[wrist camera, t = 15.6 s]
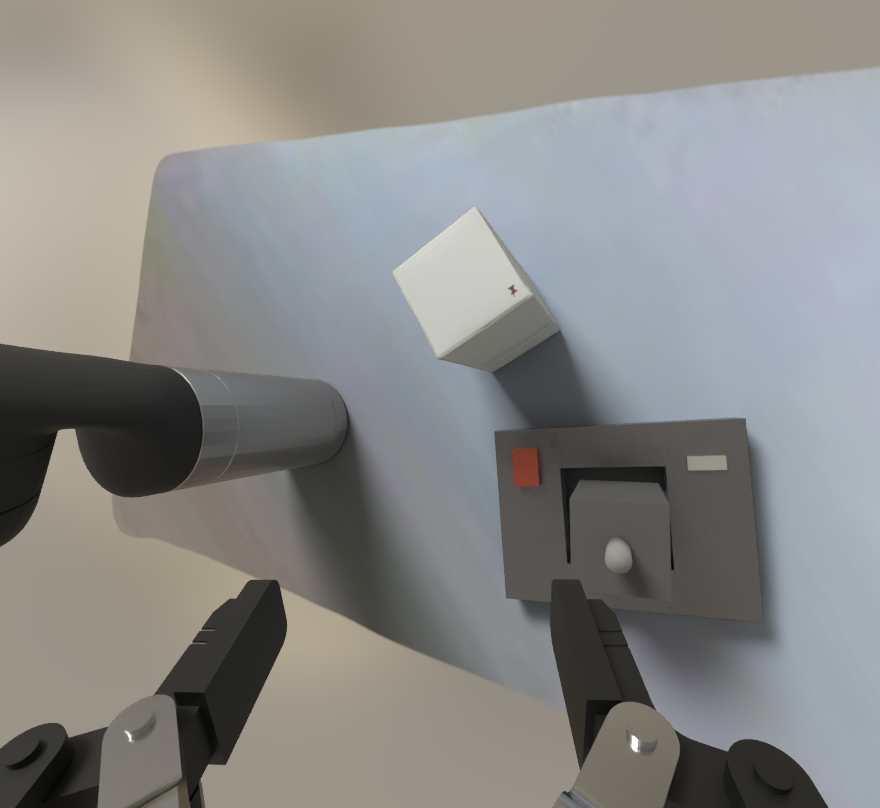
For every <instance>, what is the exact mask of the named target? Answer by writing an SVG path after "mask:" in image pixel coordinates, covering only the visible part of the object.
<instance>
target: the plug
mask: <svg viewBox="0 0 880 808" xmlns="http://www.w3.org/2000/svg"><path fill="white" fill-rule="evenodd" d="M570 549H571V579H579V580H580V582H581V584H582V587H583V590H588V591H595V592H603V593H610V594H617V595H625V596H632V597H640V598H647V599H654V600H662V601H669V602H672V594H671V551H670V508H669V503H668V501H667V499H666V497H665V495H664V493H663V491H662V490H661V488H660V486H659V484H658V483H646V482H623V481H601V480H580V481H579V483H578V484H577V486H576V488H575V490H574V492H573V493H572V495H571V497H570Z"/></svg>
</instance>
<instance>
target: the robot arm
mask: <svg viewBox="0 0 880 808" xmlns="http://www.w3.org/2000/svg"><path fill="white" fill-rule="evenodd" d="M69 428H70V429H75V431H76V436H77V440H78V445H79V449H80V452H81V455H82V458H83V460H84V462H85V465H86V467H87V469H88V470H89V472H90V473H91V475H92V476H93V478H94V479H95V480H96V481H97V483H99V484H100V485H101V486H102V487H103V488H104V489H106V490H107V491H109V492H110V493H113V494H115V495H118V496H122V497H142V496H149V495H154V494H159V493H165V492H169V491H174V490H180V489H185V488H190V487H196V486H201V485H206V484H211V483H216V482H222V481H227V480H233V479H238V478H244V477H249V476H255V475H260V474H266V473H271V472H276V471H282V470H287V469H294V468H299V467H304V466H310V465H315V464H319V463H323V462H325V461H327V460H329V459H331V458H332V457H333V456H334V455H335V454H336V453H337V452H338V450H339V449H340V448H341V446H342V444H343V442H344V439H345V436H346V431H347V413H346V409H345V406H344V403H343V401H342V399H341V397H340V395H339V394H338V393H337V392H336V390H335V389H334V388H333V387H331V386H330V385H328V384H327V383H325V382H322V381H319V380H311V379H301V378H292V377H281V376H271V375H260V374H249V373H238V372H227V371H217V370H206V369H193V368H182V367H171V366H160V365H149V364H141V363H134V362H129V361H122V360H117V359H111V358H105V357H98V356H90V355H80V354H71V353H62V352H54V351H47V350H40V349H32V348H24V347H18V346H12V345H5V344H0V547H1V546H3V545H4V544H6V543H7V542H9V541H10V540H12V539H13V538H14V537H15V536H16V535H17V534H18V533H19V532H20V531H21V530H22V529H23V528H24V527H25V525H26V524H27V522H28V521H29V519H30V517H31V516H32V513H33V512H34V510H35V507H36V505H37V503H38V499H39V496H40V493H41V489H42V485H43V483H44V479H45V475H46V472H47V468H48V465H49V461H50V457H51V453H52V450H53V446H54V443H55V439H56V436H57V432H58V430H61V429H69ZM550 627H551V638H552V645H553V650H554V654H555V659H556V663H557V668H558V672H559V677H560V681H561V686H562V690H563V695H564V700H565V704H566V709H567V713H568V717H569V722H570V727H571V731H572V736H573V740H574V745H575V749H576V754H577V758H578V763H579V767H580V773H579V775H578V777H577V779H576V781H575V783H574V785H573V787H572V788H571V790H570V791H569V792H568V793H567V792H566V791H564V792H562V793H561V795H560V796H559V797H558V799H557V801H556V802H555V804H554V806H553V808H828V806H827V805H826V803H825V802H824V800H823V798H822V797H821V795H820V793H819V792H818V790H817V788H816V787H815V785H814V783H813V782H812V780H811V779H810V777H809V776H808V774H807V773H806V772H805V771H804V770H803V768H802V767H801V766H800V765H799V764H798V763H797V762H796V761H794V760H793V759H792V758H791V757H790V756H788V755H787V754H786V753H784V752H783V751H781V750H779V749H778V748H776V747H774V746H772V745H770V744H767V743H765V742H761V741H758V740H752V739H744V740H739V741H737V742H735V743H734V744H733V745H732V746H731V747H730V749H729V751H728V752H727V751H724V750H721V749H718V748H715V747H712V746H709V745H706V744H703V743H700V742H697V741H694V740H692V739H689V738H687V737H685V736H684V735H682V734H680V733H679V732H677V731H676V730H674V729H673V727H672V726H671V725H670V723H669V722H668V721H667V720H666V719H665V718H664V717H663V716H662V715H661V714H660V713H658V712H657V711H656V709H655V708H654V706H653V704H652V702H651V699H650V697H649V694H648V692H647V690H646V687H645V685H644V682H643V680H642V678H641V675H640V673H639V670H638V668H637V666H636V663H635V661H634V658H633V656H632V654H631V651H630V649H629V648H628V644H627V641H626V639H625V637H624V634H622V629H621V627H620V625H619V622H618V620H617V617H616V615H615V613H614V612H613V611H612V610H611V609H610V608H609V607H608V606H607V605H606V604H605V603H604V602H603V601H602V600H601V599H587V598H586V595H585V593H584V590H583V587H582V584H581V582H580V580H579V579H553V580H552V584H551V616H550ZM286 631H287V620H286V614H285V610H284V605H283V600H282V596H281V590H280V586H279V583H278V581H277V580H250V581H248V582H247V584H246V585H245V586H244V588H243V589H242V591H241V592H240V594H239V595H238V597H237V598H236V599H229V600H228V601H227V602H225V603H224V604H223V605H222V606H220V607H219V608H218V609H217V610H215V611H214V612H213V613H212V615H211V616H210V618H209V619H208V620H207V622H206V623H205V624H204V626H203V627H202V631H199V633H198V634H197V636H196V637H195V638H194V640H193V643H192V644H191V645H189V647H188V648H187V650H186V651H185V652H184V654H183V655H182V656H181V658H180V660H179V661H178V662H177V663H176V665H175V666H174V668H173V669H172V671H171V672H170V673H169V675H168V676H167V677H166V679H165V680H164V682H163V683H162V684H161V686H160V687H159V689H158V690H157V691H156V693H155V694H154V695H153V696H149V697H146V698H143V699H141V700H139V701H137V702H135V703H133V704H132V705H130V706H129V707H127V708H126V709H125V710H124V711H122V712H121V713H120V714H119V715H118V716H117V717H116V718H115V719H114V720H113V721H112V723H111V724H110V725H109V726H108V727H105V728H102V729H98V730H95V731H91V732H88V733H84V734H81V735H77V736H74V737H70V738H69V737H68V735H67V733H66V730H65V728H64V727H63V726H62V725H60V724H58V723H48V724H43V725H39V726H36V727H34V728H31V729H29V730H27V731H25V732H24V733H22V734H20V735H18V736H17V737H15V738H14V739H12V740H11V741H10V742H8V743H7V744H6V745H4V746H3V747H2V748H1V749H0V808H205V803H204V795H203V787H202V783H201V780H200V779H201V777H202V775H203V773H204V771H205V769H206V767H207V765H208V764H215V765H226V763H227V761H228V759H229V757H230V755H231V753H232V751H233V748H234V746H235V744H236V742H237V740H238V738H239V735H240V734H241V732H242V730H243V727H244V725H245V723H246V721H247V719H248V717H249V715H250V713H251V711H252V708H253V707H254V704H255V702H256V700H257V698H258V696H259V694H260V692H261V690H262V688H263V686H264V683H265V681H266V679H267V677H268V675H269V673H270V671H271V669H272V667H273V665H274V662H275V660H276V658H277V656H278V654H279V652H280V649H281V648H282V646H283V643H284V640H285V637H286Z"/></svg>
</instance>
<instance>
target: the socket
mask: <svg viewBox="0 0 880 808" xmlns="http://www.w3.org/2000/svg"><path fill="white" fill-rule="evenodd" d="M495 446H496V460H497V474H498V489H499V503H500V517H501V531H502V545H503V559H504V574H505V588H506V598H510V599H520V600H531V601H541V602H551V584H552V580H553V579H571V552H570V539H569V526H568V513H567V499H566V486H565V473H564V468H596V467H650V466H663V474H664V486H665V497H666V499H667V501H668V503H669V508H670V551H671V594H672V602H669V601H662V600H654V599H647V598H640V597H632V596H625V595H617V594H610V593H603V592H595V591H588V590H584V593H585V595H586V598H587V599H601V600H602V601H603V602H604V603H605V604H606V605H607V606H608V607H609V608H614V609H624V610H635V611H645V612H656V613H666V614H676V615H687V616H697V617H708V618H718V619H728V620H739V621H749V622H760V623H764V617H763V606H762V595H761V584H760V573H759V562H758V551H757V540H756V529H755V518H754V507H753V496H752V485H751V474H750V463H749V452H748V441H747V430H746V419H745V418H723V419H704V420H685V421H666V422H647V423H628V424H610V425H591V426H572V427H553V428H534V429H516V430H501V431H495Z"/></svg>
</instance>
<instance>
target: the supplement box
mask: <svg viewBox="0 0 880 808" xmlns="http://www.w3.org/2000/svg"><path fill="white" fill-rule="evenodd" d="M392 274H393V276H394V277H395V279H396V281H397V283H398V285H399V287H400V288H401V290H402V292H403V294H404V296H405V298H406V299H407V301H408V303H409V305H410V307H411V309H412V311H413V313H414V315H415V317H416V319H417V321H418V323H419V325H420V327H421V329H422V331H423V333H424V335H425V337H426V339H427V341H428V342H429V344H430V346H431V348H432V350H433V352H434V354H435V356H436V358H437V359H440V360H445V361H449V362H453V363H457V364H461V365H465V366H469V367H473V368H477V369H481V370H485V371H489V372H494V371H496V370H497V369H499V368H501V367H503V366H504V365H506V364H507V363H509V362H511V361H512V360H514V359H515V358H517V357H519V356H520V355H522V354H523V353H525V352H527V351H528V350H530V349H531V348H533V347H534V346H536V345H538V344H539V343H541V342H542V341H544V340H545V339H547V338H549V337H550V336H552V335H553V334H555V333H557V332H558V331H560V328H559V327H558V325H557V323H556V321H555V320H554V318H553V316H552V315H551V313H550V311H549V309H548V308H547V306H546V304H545V303H544V301H543V299H542V298H541V296H540V294H539V293H538V291H537V290H536V288H535V286H534V285H533V283H532V282H531V280H530V279H529V277H528V276H527V274H526V273H525V271H524V270H523V268H522V267H521V265H520V264H519V263H518V261H517V260H516V259H515V257H514V256H513V255H512V253H511V252H510V251H509V249H508V248H507V247H506V245H505V244H504V243H503V241H502V240H501V238H500V237H499V236H498V234H497V233H496V232H495V230H494V229H493V228H492V226H491V225H490V224H489V222H488V221H487V220H486V219H485V217H484V216H483V215H482V213H481V212H480V211H479V210H478V208H477V207H473V208H472V209H471V210H469V211H468V212H467V213H466V214H465V215H463V216H462V217H461V218H460V219H458V220H457V221H456V222H455V223H453V224H452V225H451V226H449V227H448V228H447V229H446V230H444V231H443V232H442V233H441V234H439V235H438V236H437V237H436V238H434V239H433V240H432V241H430V242H429V243H428V244H427V245H425V246H424V247H423V248H422V249H420V250H419V251H418V252H417V253H415V254H414V255H413V256H412V257H410V258H409V259H408V260H406V261H405V262H404V263H403V264H401V265H400V266H399V267H398V268H396V269H395V270H394V271H393V272H392Z"/></svg>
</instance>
